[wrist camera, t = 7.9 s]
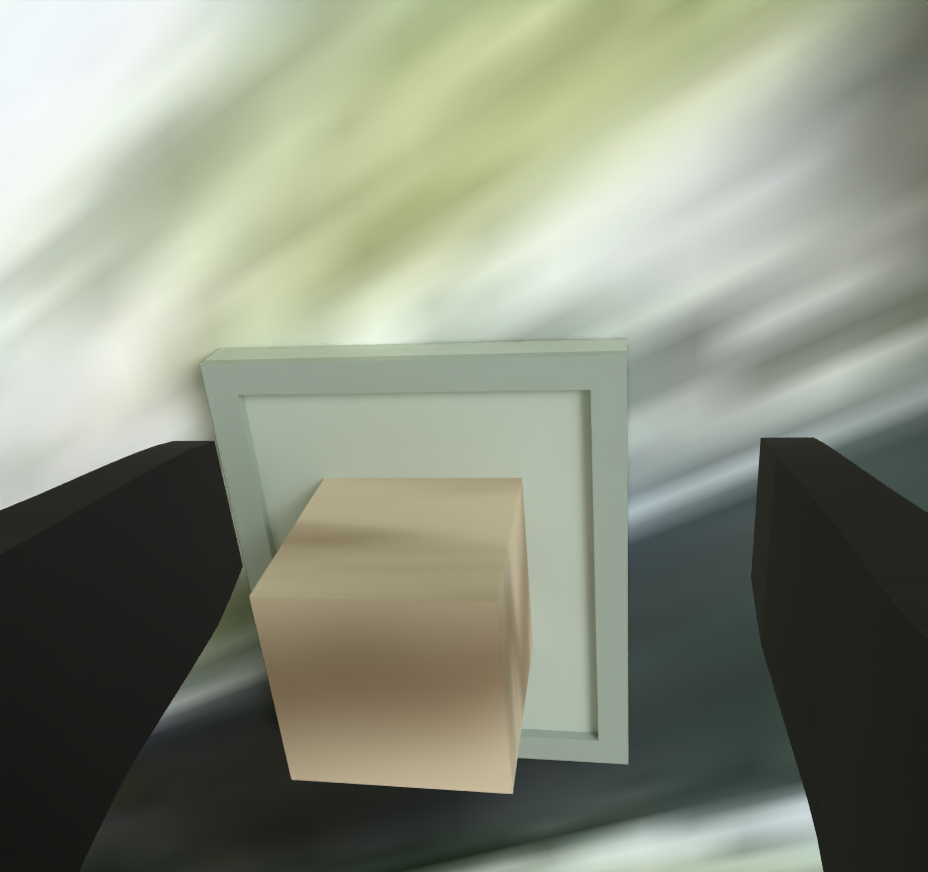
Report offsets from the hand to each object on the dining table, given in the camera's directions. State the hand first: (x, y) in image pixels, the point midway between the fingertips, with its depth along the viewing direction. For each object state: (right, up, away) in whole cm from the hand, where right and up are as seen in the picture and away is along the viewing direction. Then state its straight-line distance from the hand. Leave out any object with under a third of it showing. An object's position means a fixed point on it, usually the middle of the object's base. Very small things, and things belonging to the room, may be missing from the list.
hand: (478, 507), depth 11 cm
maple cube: (-1, -2, +11) cm, 11 cm away
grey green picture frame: (-1, -2, +12) cm, 12 cm away
